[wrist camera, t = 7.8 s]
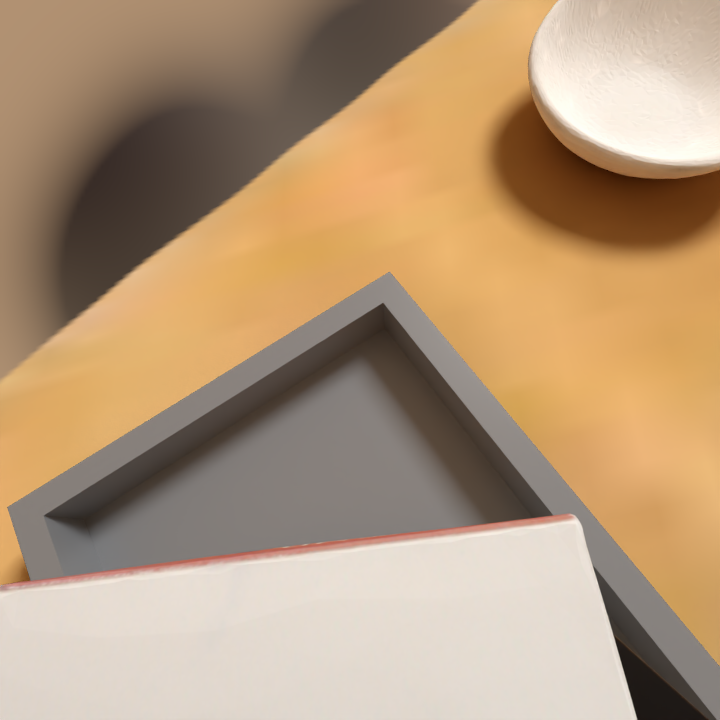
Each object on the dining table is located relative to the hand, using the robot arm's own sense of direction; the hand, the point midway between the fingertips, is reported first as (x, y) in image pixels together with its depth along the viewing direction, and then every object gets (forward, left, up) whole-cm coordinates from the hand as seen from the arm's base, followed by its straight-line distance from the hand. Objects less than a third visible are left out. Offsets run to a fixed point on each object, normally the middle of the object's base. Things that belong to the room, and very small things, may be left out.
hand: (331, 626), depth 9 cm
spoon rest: (+13, -29, -9) cm, 33 cm away
